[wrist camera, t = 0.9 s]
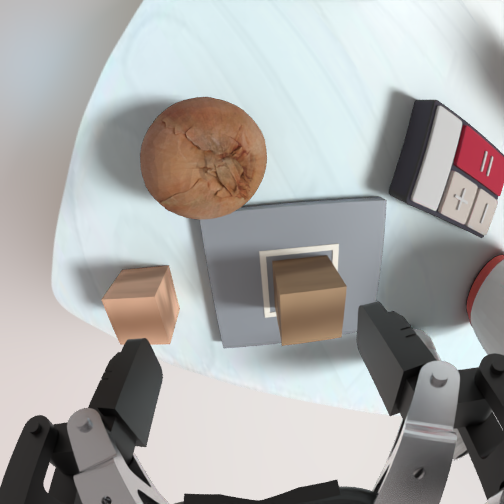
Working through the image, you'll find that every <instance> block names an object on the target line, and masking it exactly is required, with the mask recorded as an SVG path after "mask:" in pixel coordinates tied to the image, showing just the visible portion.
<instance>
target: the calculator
mask: <svg viewBox="0 0 504 504" xmlns="http://www.w3.org/2000/svg"><path fill="white" fill-rule="evenodd" d="M503 184H504V155H503V154H502V153H501V152H500V151H499V150H498V149H497V148H496V147H495V146H494V145H493V144H492V143H491V142H489V141H488V140H487V139H486V138H485V137H484V136H483V135H482V134H480V133H479V132H478V131H477V130H476V129H474V128H473V127H472V126H471V125H470V124H468V123H467V122H466V121H465V120H463V119H462V118H461V117H460V116H458V115H457V114H456V113H454V112H453V111H452V110H450V109H449V108H448V107H446V106H445V105H443V104H442V103H441V102H439V101H438V100H416V101H415V103H414V107H413V111H412V115H411V119H410V123H409V126H408V130H407V134H406V137H405V141H404V144H403V148H402V151H401V155H400V158H399V161H398V164H397V167H396V171H395V174H394V177H393V180H392V183H391V186H390V189H389V194H390V195H392V196H393V197H395V198H397V199H399V200H401V201H403V202H405V203H407V204H409V205H411V206H414V207H416V208H418V209H421V210H423V211H425V212H428V213H430V214H432V215H434V216H437V217H439V218H441V219H443V220H445V221H448V222H450V223H452V224H454V225H456V226H458V227H460V228H462V229H464V230H467V231H469V232H471V233H473V234H475V235H477V236H479V237H481V238H483V237H484V235H486V234H487V232H488V229H489V226H490V224H491V221H492V218H493V215H494V213H495V210H496V207H497V204H498V201H497V199H498V196H500V194H501V191H502V188H503Z"/></svg>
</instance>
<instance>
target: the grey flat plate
mask: <svg viewBox="0 0 504 504" xmlns="http://www.w3.org/2000/svg"><path fill="white" fill-rule="evenodd" d="M386 201H387V200H385V199H383V198H382V197H376V198H355V199H337V200H322V201H308V202H295V203H282V204H271V205H260V206H249V207H240V208H239V209H237V210H236V211H234V212H232V213H231V214H228V215H225V216H222V217H218V218H213V219H200V225H201V231H202V237H203V243H204V249H205V255H206V261H207V266H208V272H209V278H210V283H211V288H212V294H213V299H214V304H215V309H216V314H217V320H218V324H219V329H220V334H221V339H222V344H223V348H234V347H246V346H257V345H267V344H277V343H281V337H280V332H279V327H278V321H277V316H276V310H275V300H274V283H273V268H272V261H277V260H286V259H296V258H306V257H315V256H325V255H327V256H328V257H329V259H330V260H331V262H332V263H333V265H334V267H335V268H336V270H337V271H338V273H339V275H340V276H341V278H342V279H343V281H344V283H345V284H346V286H347V290H346V301H345V311H344V319H343V328H342V334H347V333H353V332H357V323H358V308H359V306H360V305H364V304H369V303H373V302H376V298H377V292H378V285H379V278H380V270H381V262H382V253H383V243H384V232H385V219H386Z"/></svg>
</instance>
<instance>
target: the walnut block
mask: <svg viewBox="0 0 504 504" xmlns="http://www.w3.org/2000/svg"><path fill="white" fill-rule="evenodd" d="M272 268H273V283H274V300H275V310H276V316H277V321H278V327H279V332H280V337H281V343H282V346H284V345H292V344H300V343H307V342H314V341H321V340H328V339H334V338H340V337H341V336H342V328H343V319H344V311H345V301H346V290H347V286H346V284H345V283H344V281H343V279H342V278H341V276H340V275H339V273H338V271H337V270H336V268H335V267H334V265H333V263H332V262H331V260H330V259H329V257H328V256H327V255H325V256H315V257H306V258H296V259H286V260H277V261H272Z"/></svg>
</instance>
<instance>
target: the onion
mask: <svg viewBox="0 0 504 504" xmlns="http://www.w3.org/2000/svg"><path fill="white" fill-rule="evenodd" d="M140 163H141V171H142V176H143V179H144V182H145V185H146V187H147V189H148V191H149V192H150V194H151V195H152V196H153V197H154V198H155V199H156V200H157V201H158V202H159V203H160V204H161V205H162V206H163V207H165V209H167V210H168V211H171V212H173V213H175V214H177V215H180V216H183V217H186V218H191V219H213V218H218V217H222V216H225V215H228V214H231V213H232V212H234V211H236V210H237V209H239V208H240V207H242V206H243V205H244V204H245V203H246V202H248V201H249V200H250V199H251V197H252V196H253V195H254V193H255V192H256V190H257V189H258V187H259V185H260V183H261V181H262V179H263V176H264V173H265V169H266V163H267V152H266V145H265V139H264V137H263V134H262V132H261V130H260V129H259V127H258V126H257V124H256V123H255V121H254V120H253V119H252V118H251V117H250V116H249V115H248V114H247V113H246V112H245V111H244V110H242V109H241V108H239V107H238V106H236V105H234V104H231V103H229V102H226V101H224V100H220V99H215V98H210V97H197V98H192V99H187V100H183V101H180V102H177V103H175V104H173V105H171V106H170V107H169V108H167V109H166V110H165V111H163V112H162V113H161V114H160V115H159V116H158V117H157V118H156V119H155V120H154V121H153V123H152V125H151V126H150V127H149V129H148V131H147V133H146V135H145V137H144V140H143V143H142V147H141V153H140Z"/></svg>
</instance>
